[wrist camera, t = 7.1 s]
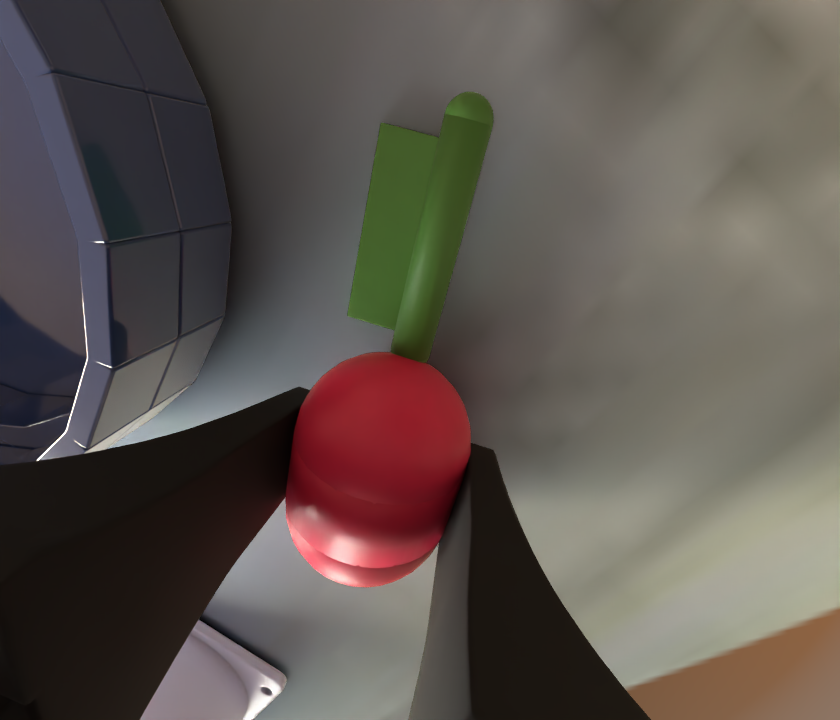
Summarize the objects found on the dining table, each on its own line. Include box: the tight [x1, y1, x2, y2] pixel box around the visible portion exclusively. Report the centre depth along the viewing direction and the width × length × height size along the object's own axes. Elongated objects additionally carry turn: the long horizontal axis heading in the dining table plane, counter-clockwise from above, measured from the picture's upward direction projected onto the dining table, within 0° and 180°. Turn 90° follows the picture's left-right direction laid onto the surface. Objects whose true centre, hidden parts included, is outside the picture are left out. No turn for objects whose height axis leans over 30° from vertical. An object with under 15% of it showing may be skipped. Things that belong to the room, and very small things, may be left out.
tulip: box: [286, 92, 494, 587], centre depth 9 cm, size 11×4×4 cm, turn 166°
